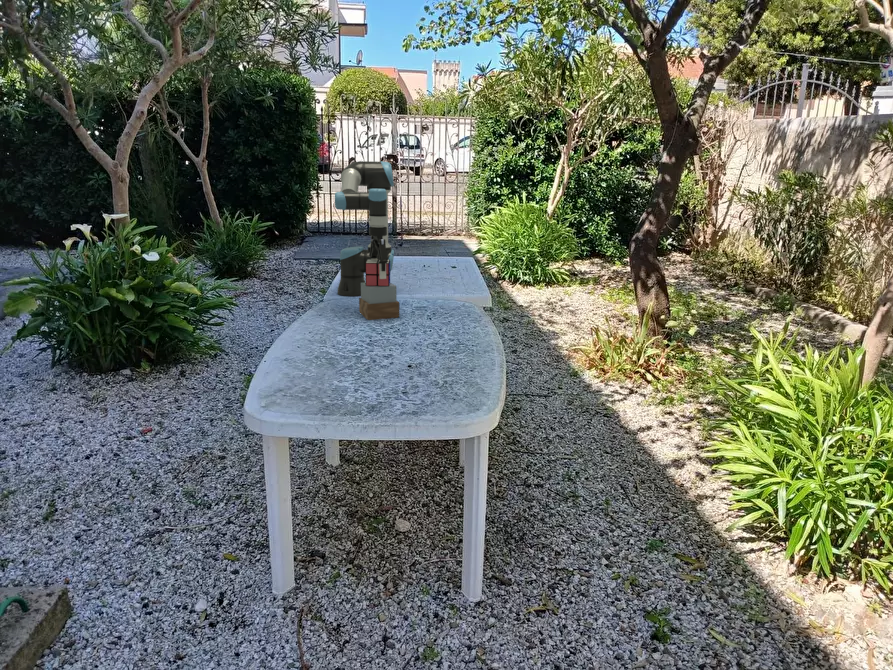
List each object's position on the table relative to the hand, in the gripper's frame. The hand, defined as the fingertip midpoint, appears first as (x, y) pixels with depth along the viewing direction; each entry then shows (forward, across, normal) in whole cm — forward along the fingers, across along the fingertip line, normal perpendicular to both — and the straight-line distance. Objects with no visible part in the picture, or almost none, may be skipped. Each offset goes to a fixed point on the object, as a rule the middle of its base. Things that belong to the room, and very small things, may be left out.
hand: (378, 276), depth 273 cm
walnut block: (+17, 0, 0) cm, 18 cm away
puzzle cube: (+4, 0, 0) cm, 4 cm away
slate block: (+10, 0, 0) cm, 11 cm away
